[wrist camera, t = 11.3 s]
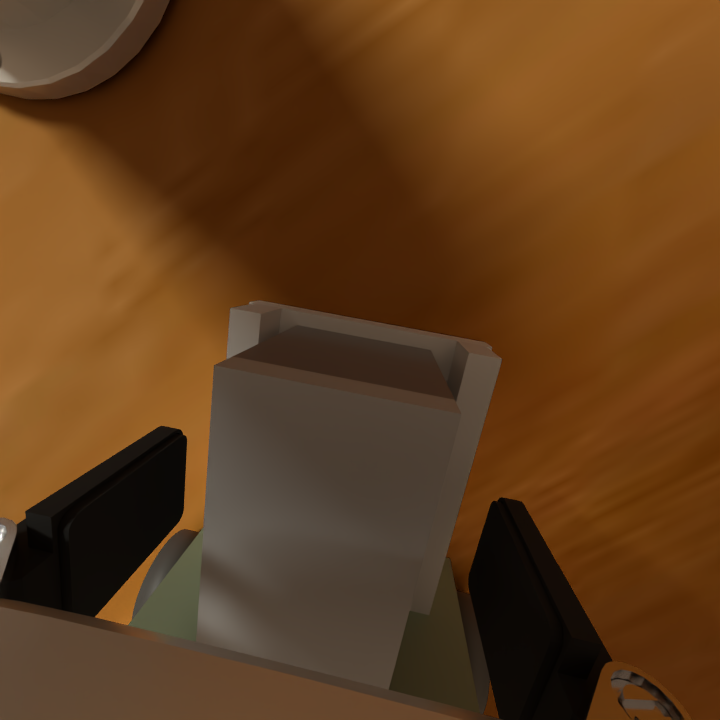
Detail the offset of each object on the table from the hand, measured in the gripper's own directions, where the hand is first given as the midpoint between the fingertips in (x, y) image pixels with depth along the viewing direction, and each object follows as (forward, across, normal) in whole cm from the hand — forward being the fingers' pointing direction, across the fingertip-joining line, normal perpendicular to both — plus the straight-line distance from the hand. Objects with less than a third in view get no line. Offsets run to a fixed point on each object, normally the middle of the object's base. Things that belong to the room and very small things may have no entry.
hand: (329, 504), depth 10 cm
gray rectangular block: (+4, 0, 0) cm, 4 cm away
